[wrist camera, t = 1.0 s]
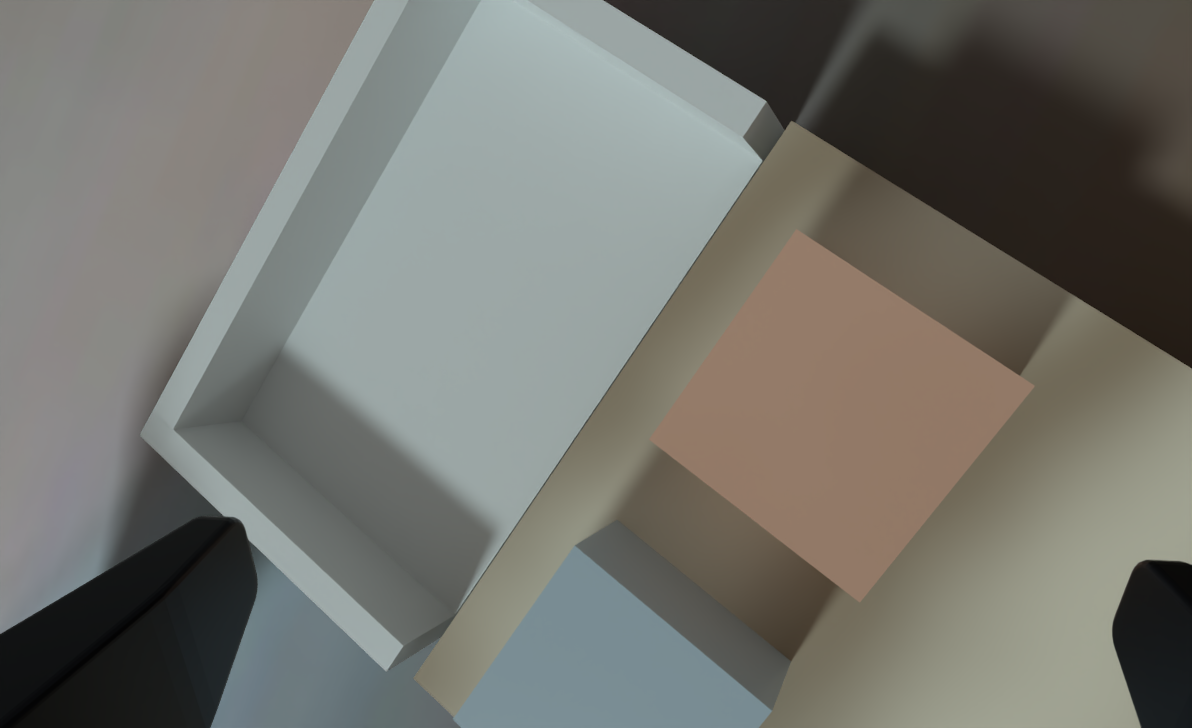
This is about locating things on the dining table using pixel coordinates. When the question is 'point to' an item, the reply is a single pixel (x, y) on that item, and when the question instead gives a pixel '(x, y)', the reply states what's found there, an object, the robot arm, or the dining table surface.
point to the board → (952, 532)
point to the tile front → (837, 414)
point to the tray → (449, 293)
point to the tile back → (626, 651)
